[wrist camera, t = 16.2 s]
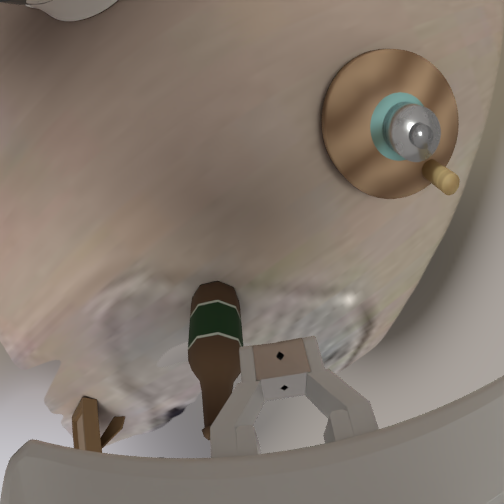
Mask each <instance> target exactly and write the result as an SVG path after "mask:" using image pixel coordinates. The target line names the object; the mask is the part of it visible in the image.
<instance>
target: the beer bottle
mask: <svg viewBox="0 0 504 504" xmlns="http://www.w3.org/2000/svg"><path fill="white" fill-rule="evenodd" d="M240 347H243V337H242V326H241V314H240V305H239V300H238V298H237V295H236V292H235V290H234V288H233V287H231V286H229V285H226V284H224V283H221V282H219V281H216V282H211V283H207V284H203V285H200V287H199V288H198V290H197V291H196V293H195V294H194V296H193V298H192V303H191V314H190V327H189V342H188V361H189V364H190V366H191V369H192V371H193V372H194V374H195V375H196V377H197V378H198V379H199V381H200V385H201V390H202V399H203V413H204V425H205V428H204V429H202V432H203V435H204V437H205V438H207V439H208V440H210V427H211V425H212V424H213V422H214V421H215V419H216V417H217V416H218V414H219V413H220V411H221V410H222V408H223V406H224V405H225V403H226V402H227V400H228V398H229V397H230V395H231V394H232V389H233V383H234V381H235V379H236V378H237V377H238V375H239V374H240V373H241V368H240V355H239V348H240Z"/></svg>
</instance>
